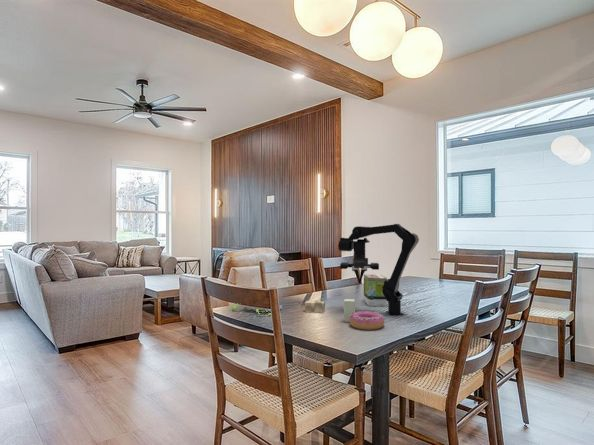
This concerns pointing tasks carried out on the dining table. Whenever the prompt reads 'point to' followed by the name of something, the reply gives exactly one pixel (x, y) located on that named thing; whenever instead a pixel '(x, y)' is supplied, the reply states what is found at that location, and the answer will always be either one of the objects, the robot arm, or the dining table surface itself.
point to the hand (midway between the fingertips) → (359, 283)
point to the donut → (366, 320)
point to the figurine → (256, 309)
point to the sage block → (348, 309)
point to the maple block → (315, 306)
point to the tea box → (374, 290)
